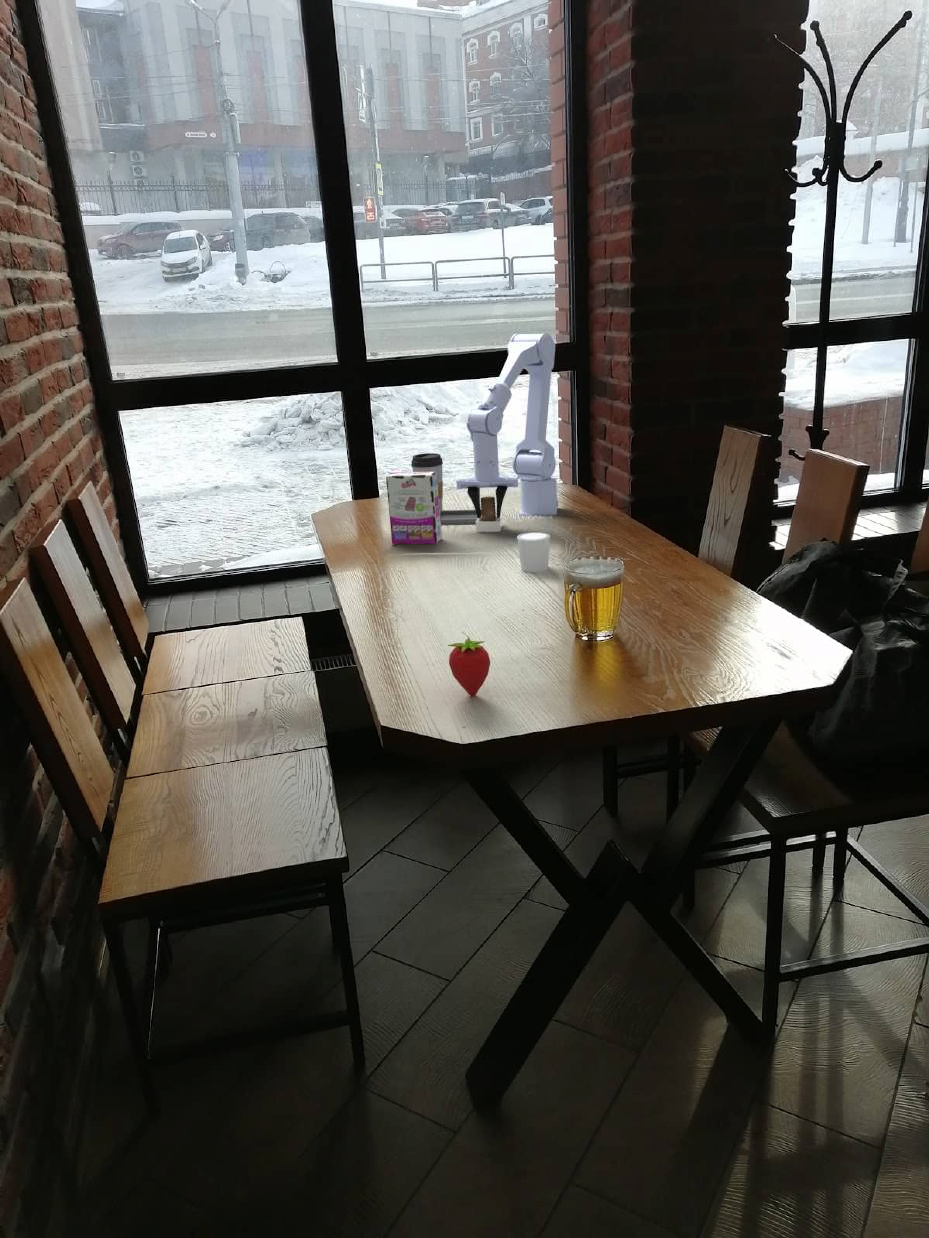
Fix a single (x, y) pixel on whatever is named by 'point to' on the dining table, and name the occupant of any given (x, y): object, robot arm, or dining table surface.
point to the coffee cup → (430, 468)
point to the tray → (458, 517)
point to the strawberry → (469, 665)
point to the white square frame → (489, 525)
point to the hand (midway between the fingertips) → (488, 517)
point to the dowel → (488, 508)
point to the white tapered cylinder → (534, 551)
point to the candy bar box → (414, 507)
